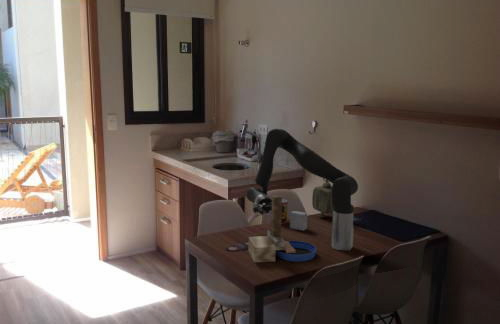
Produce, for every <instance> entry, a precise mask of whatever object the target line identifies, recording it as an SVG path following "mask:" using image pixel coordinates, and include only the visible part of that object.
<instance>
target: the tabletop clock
mask: <svg viewBox="0 0 500 324" xmlns="http://www.w3.org/2000/svg"><path fill="white" fill-rule="evenodd" d="M322 180H323V183H322V185H319V186H315V187H314V188H313V190H312V198H311V199H312V200H311V201H312V203H311V204H312V208H313V209H314V210H315V211H317V212H320V215H321V216H320V218H321V219H324V214H330V215H332V216H333V205H332V184H331V182H330V181H328V180H327V179H324V178H322Z"/></svg>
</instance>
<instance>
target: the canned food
mask: <svg viewBox="0 0 500 324" xmlns="http://www.w3.org/2000/svg"><path fill="white" fill-rule="evenodd" d="M288 204H289V203H288V200H287V199H285V198H282V205H284V206H285V212H283V213H282V214H281V225H283V224H284V223H285V224H287V223H288Z"/></svg>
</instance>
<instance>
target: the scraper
mask: <svg viewBox="0 0 500 324" xmlns="http://www.w3.org/2000/svg"><path fill="white" fill-rule="evenodd" d="M282 199H283V196H281V195H280V194H279V195H278V194H276V195H271V200H272V211H271V219H270V220H271V221H270V222H271V223H270V224H271V225H270V227H271V228H270V229H269V230H266V231H267V232H266V233H267V234H266V236H268V237H269V239H270V240H271V241H272V243H273V244H274V246H275V247H285V241H286V240H285V239H284V238H283V237H282V224H281V213H282Z"/></svg>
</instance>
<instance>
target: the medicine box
mask: <svg viewBox="0 0 500 324" xmlns="http://www.w3.org/2000/svg"><path fill="white" fill-rule="evenodd" d="M289 219H290V220H289V228H290V229H291V230H292V229H293V230H297V231H306V230H307V228H308V227H307V226H308V213H307V212H302V211H296V210H292V211H291V212H290V214H289Z"/></svg>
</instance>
